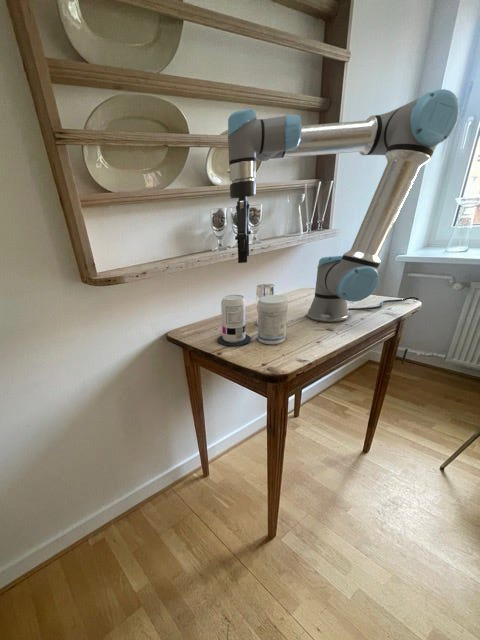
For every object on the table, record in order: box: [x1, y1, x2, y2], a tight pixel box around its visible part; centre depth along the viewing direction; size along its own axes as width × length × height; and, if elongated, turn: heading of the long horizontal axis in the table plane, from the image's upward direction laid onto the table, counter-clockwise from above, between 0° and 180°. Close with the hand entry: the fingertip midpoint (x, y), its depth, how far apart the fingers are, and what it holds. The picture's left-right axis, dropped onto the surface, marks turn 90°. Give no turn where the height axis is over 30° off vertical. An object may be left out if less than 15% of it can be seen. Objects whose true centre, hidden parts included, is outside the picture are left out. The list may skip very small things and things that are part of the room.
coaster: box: [217, 333, 252, 347], centre depth 109 cm, size 12×12×1 cm
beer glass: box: [255, 283, 275, 326], centre depth 117 cm, size 7×7×15 cm
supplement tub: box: [257, 294, 289, 345], centre depth 102 cm, size 10×10×15 cm
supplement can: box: [220, 294, 246, 343], centre depth 105 cm, size 8×8×15 cm
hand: (243, 259), depth 98 cm, fingers open, 13 cm apart
